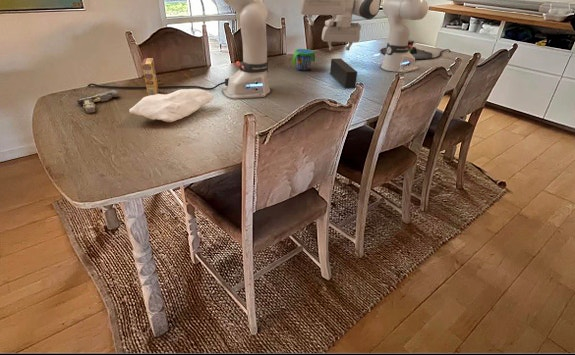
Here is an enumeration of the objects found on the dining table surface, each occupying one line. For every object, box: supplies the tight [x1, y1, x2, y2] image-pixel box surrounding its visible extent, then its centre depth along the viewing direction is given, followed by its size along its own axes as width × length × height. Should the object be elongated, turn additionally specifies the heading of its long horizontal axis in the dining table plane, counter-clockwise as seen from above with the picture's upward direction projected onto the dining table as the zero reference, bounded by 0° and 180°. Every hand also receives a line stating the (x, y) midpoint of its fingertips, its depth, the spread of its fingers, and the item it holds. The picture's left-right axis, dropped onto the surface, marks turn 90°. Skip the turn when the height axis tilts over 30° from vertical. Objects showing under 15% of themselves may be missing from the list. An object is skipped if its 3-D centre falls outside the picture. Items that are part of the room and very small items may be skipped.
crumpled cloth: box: [129, 88, 214, 123], centre depth 147 cm, size 24×35×9 cm
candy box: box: [141, 57, 160, 96], centre depth 163 cm, size 9×4×15 cm, turn 13°
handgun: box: [76, 89, 120, 114], centre depth 155 cm, size 3×18×15 cm
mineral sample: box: [380, 39, 433, 59], centre depth 249 cm, size 35×35×9 cm
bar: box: [329, 58, 358, 89], centre depth 193 cm, size 26×6×8 cm, turn 12°
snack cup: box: [291, 48, 316, 71], centre depth 207 cm, size 16×10×10 cm
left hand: (321, 25), depth 169 cm, fingers open, 8 cm apart
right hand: (339, 50), depth 195 cm, fingers open, 8 cm apart
